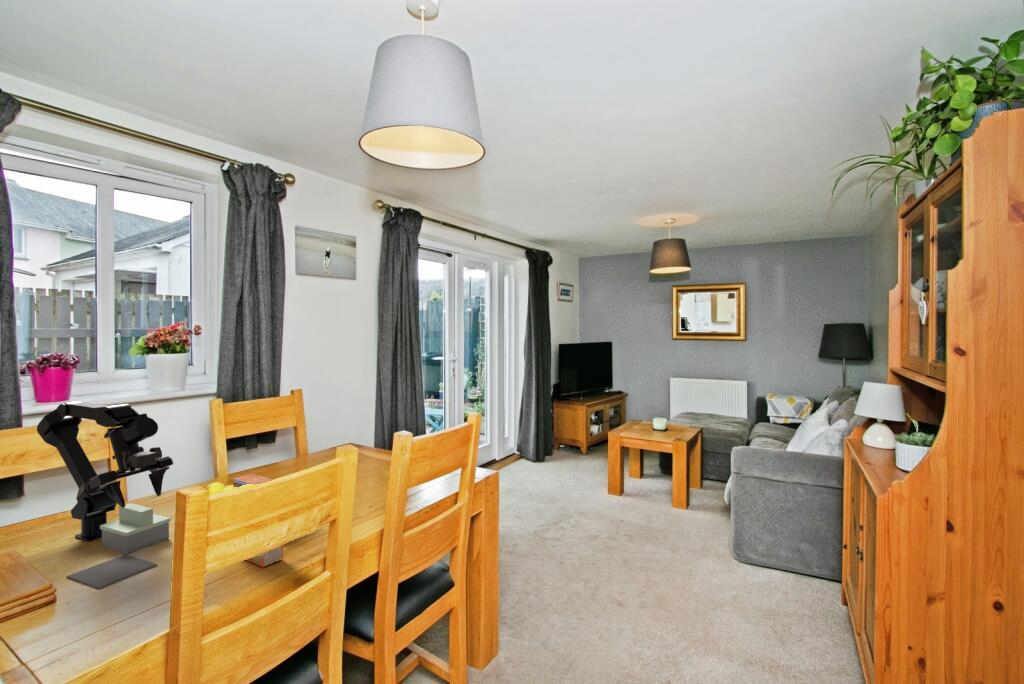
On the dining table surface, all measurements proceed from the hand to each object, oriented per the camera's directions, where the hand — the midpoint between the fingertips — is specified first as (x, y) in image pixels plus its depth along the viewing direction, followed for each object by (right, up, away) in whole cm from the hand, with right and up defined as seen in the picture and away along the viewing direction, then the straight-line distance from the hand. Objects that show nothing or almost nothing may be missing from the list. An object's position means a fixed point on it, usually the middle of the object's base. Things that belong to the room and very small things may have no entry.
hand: (142, 501), depth 140 cm
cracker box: (+35, -13, -6) cm, 38 cm away
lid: (-3, -8, +2) cm, 9 cm away
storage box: (-3, -12, +2) cm, 13 cm away
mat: (+4, -13, -15) cm, 20 cm away
